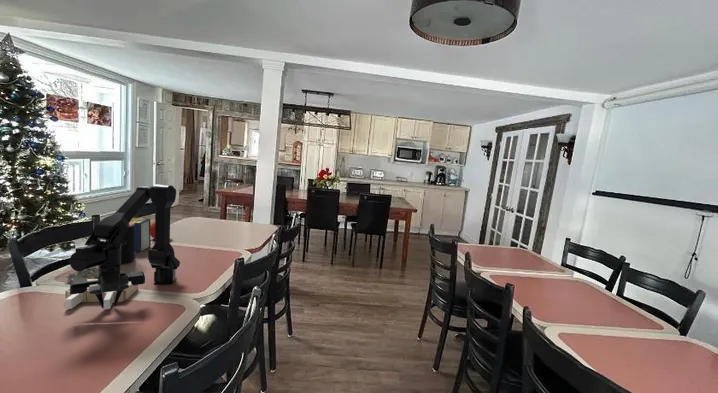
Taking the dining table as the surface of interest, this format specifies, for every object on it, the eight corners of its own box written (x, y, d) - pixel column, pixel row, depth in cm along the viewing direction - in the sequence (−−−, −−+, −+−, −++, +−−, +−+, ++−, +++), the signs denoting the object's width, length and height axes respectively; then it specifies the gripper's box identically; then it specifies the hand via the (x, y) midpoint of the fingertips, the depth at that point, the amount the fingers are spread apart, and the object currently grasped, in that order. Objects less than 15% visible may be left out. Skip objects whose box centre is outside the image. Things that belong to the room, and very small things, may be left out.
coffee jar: (100, 262, 142) (99, 223, 140) (125, 256, 152) (125, 220, 150) (115, 267, 138) (115, 227, 136) (140, 260, 148) (140, 223, 146)
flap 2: (126, 300, 110) (126, 289, 109) (123, 308, 104) (123, 297, 103) (105, 302, 107) (104, 292, 106) (100, 311, 101) (100, 300, 101)
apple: (145, 240, 180) (145, 220, 179) (158, 236, 190) (159, 217, 189) (160, 242, 178) (160, 222, 177) (173, 238, 188) (174, 219, 187)
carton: (137, 289, 119) (137, 278, 118) (124, 302, 109) (124, 289, 108) (85, 290, 115) (84, 278, 114) (66, 303, 105) (66, 290, 105)
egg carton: (78, 286, 118) (77, 276, 117) (63, 283, 120) (62, 273, 119) (106, 276, 128) (106, 267, 128) (92, 273, 130) (92, 264, 129)
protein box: (120, 245, 168) (120, 216, 166) (150, 246, 169) (151, 218, 167) (106, 251, 157) (106, 220, 156) (139, 252, 159) (139, 222, 157)
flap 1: (86, 301, 107) (86, 290, 106) (73, 310, 100) (73, 299, 100) (66, 301, 106) (66, 290, 105) (52, 311, 99) (51, 299, 99)
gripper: (69, 274, 89) (69, 325, 91) (148, 264, 101) (146, 310, 103) (70, 261, 97) (70, 309, 99) (143, 254, 109) (142, 296, 111)
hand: (108, 306), depth 103 cm, fingers open, 3 cm apart
